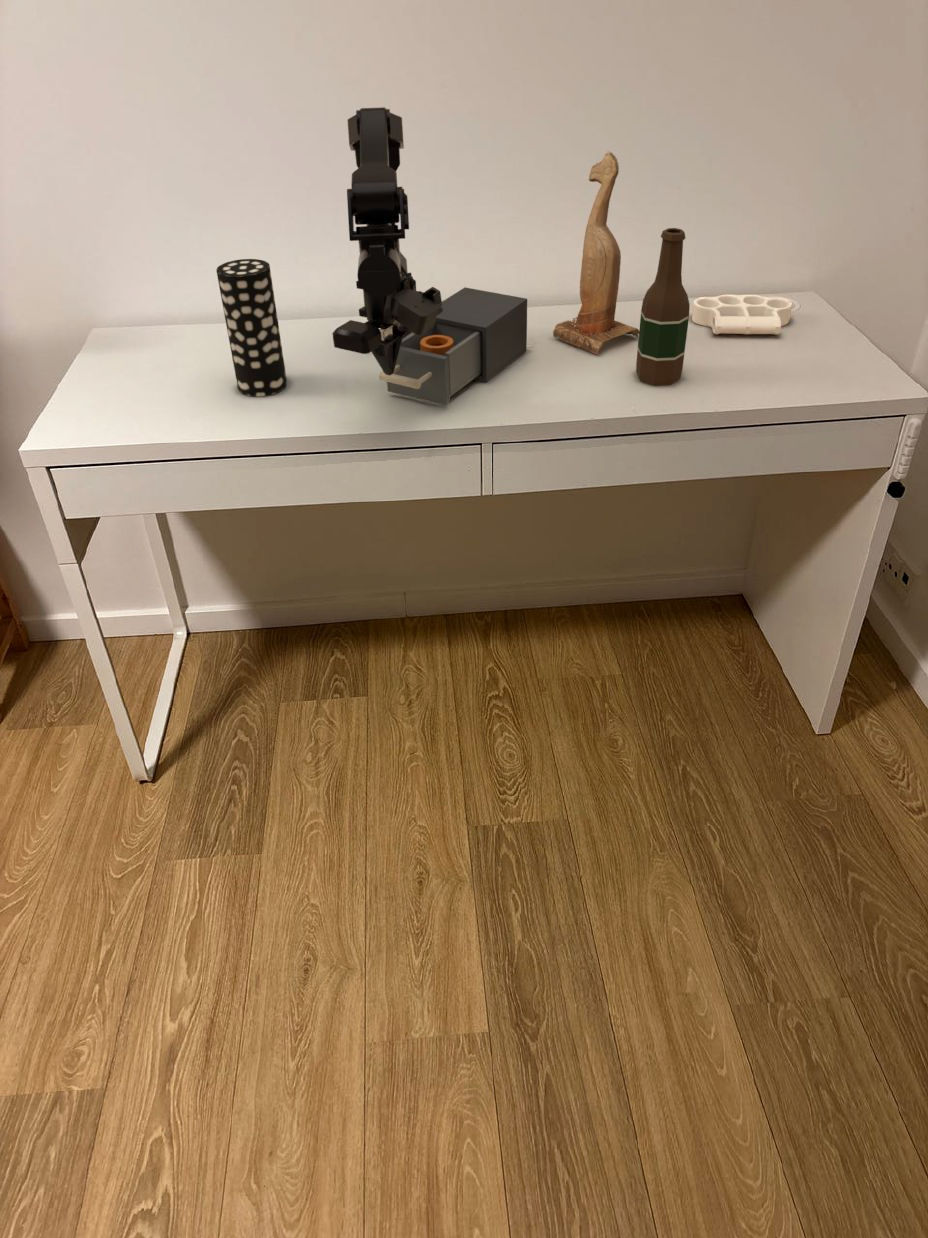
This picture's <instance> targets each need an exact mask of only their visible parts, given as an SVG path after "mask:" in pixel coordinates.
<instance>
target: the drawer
mask: <svg viewBox="0 0 928 1238" xmlns="http://www.w3.org/2000/svg"><path fill="white" fill-rule="evenodd" d="M431 335H444V336H449V337H451V338H452V339H453V341H454V347H453V348H452V349H450V350H449V351H447V352H446V353H445V356H443V355H438V354H433V353H429V352H424V351H421V350H420V342H421V339H423V338H425V337H428V336H431ZM482 372H483V360H482V331H478V330H473V329H468V328H463V327H458V326H453V325H448V324H443V323H438V322H435V324H434V327H433V328H430V329H428V330H427V331H425V332H424V333H423V334H421V335H417V334H414V333H411V334H409V335H408V336H406V337H404V338H403V339H402V342H401V345H400V349H399V353H398V357H397V361H396V365H395V369H394V373H393V374H392V375H390V376H389V375H386V374H385V373H384V372H383V371H381V372H380V373H379V380H381V381H383V382H386V389H387V392H389V393H394V394H398V395H402V396H406V397H410V398H414V399H418V400H422V401H427V402H431V403H435V404H439V405H442V406H448V405H450V403H451V397H453V395H454V394H456V393H457V392H459V391H460V390H461V389H463V388H464V387H465V386H467V385H468V384H469V383H471V382H472V381H473V380H474V378H476V377H477V376H478V375H480V374H481V373H482Z"/></svg>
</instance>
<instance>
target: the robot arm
mask: <svg viewBox="0 0 928 1238" xmlns="http://www.w3.org/2000/svg"><path fill="white" fill-rule="evenodd" d="M347 133H348V146H349V149H350V151H354V155H355V163H356V167H357V169H356V170H354V171H353V172H352V173H351V184H350V186H351V188H346V200H347V201H346V202H347V217H348V219H347V220H348V235H349V236H348V237H349V241H350V242H357V241H358V250H359V251H358V252H359V255H358V264H357V265H358V266H357V280H356V281H355V285H356V289H357V290H362V293H363V294H362V295H363V305H364V306H362V307H360V308H359V309H358V315H359V317H361V318H366V321H365V322H362V321H358V320H352V319H349V320H348V321H346V322H345V323H343V324H341V325H339V326H338V327H336V329H335V330H333V332H332V341H333V347H334V348H336V349H340V350H345V351H349V352H353V353H357V354H362V355H366V354H367V355H368V354H370V353H371V354H372V355H373V357H374V358H375V360H376V362H377V364H378V365H379V367H380V368H381V370H382V372H384V373H385V374H386V375H389V376H390V375H392V374H393V373H394V369H395V365H396V361H397V357H398V353H399V349H400V345H401V342H402V339H403V338H404V337H406V336H408V335H409V334H411V333H414V334H417V335H421V334H423V333H424V332H425V331H427V330H428V329H430V328H433V327H434V324H435V321H436V317H437V315H439V314H440V313H442V311H443V309H442V308H441V305H442V301H443V300H442V295H441V290H440V289H437V288H436V287H434V286H431V287H430V288H428V289H426V290H425V291H421V290H417V280H416V279H414V277H413V276H412V272H408V261H407V258H406V257H405V256H404V254H402V252H401V249H400V240H403V239H406V230H410V220H409V203H408V202H409V201H408V194H407V193H406V192H405V188H403V186H398V176H397V175H398V174H397V171H398V169H399V167H400V165H401V151H400V149H401V150H402V149H405V145H404V126H403V117H402V116H400V115H397V114H395V113H393V112H391V108H386V107H383V106H382V107H361V108H359V109H357V110H356V111H355V115H353V116H350V117H349V118H348V119H347ZM399 222H400V228H399V224H398V223H399ZM354 224H355V225H357V226H356V227H355V225H354Z"/></svg>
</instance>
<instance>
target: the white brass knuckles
mask: <svg viewBox="0 0 928 1238" xmlns="http://www.w3.org/2000/svg"><path fill="white" fill-rule="evenodd" d="M792 307H793V303H792V301H790V300H789V299H787V298H784V297H779V296H778V297H777V296H776V297H769V296H762V295H759V294H751V293H750V294H749V293H748V294H732V293H728V294H721V295H718V296H701V297H697V298H695V299H694V301H693V303H692V311H691V321H692V322H693V323H695V324H697V325H699V326H704V327H709V328H711V329H712V333H713V334H714V335H719V334H725V335H726V334H727V335H728V334H729V335H730V334H734V335H735V334H736V335H744V336H745V335H746V336H747V335H773V336H777V335H780V334H781V332H782V331H781V330H782V327H783V326H786V325H788V324H789V323H790V319H791V314H792Z"/></svg>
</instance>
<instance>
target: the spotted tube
mask: <svg viewBox="0 0 928 1238" xmlns="http://www.w3.org/2000/svg"><path fill="white" fill-rule="evenodd" d="M215 272H216V276H217V282H218V287H219V292H220V298H221V304H222V309H223V315H224V321H225V325H226V331H227V335H228V336H227V337H228V342H229V347H230V352H231V358H232V363H233V369H234V374H235V380H236V385H237V390H238V392H239V393H240V394H242V395H244V396H249V397H267V396H272V395H275V394H278V393H280V392H282V391H283V390H285V389H286V388H287V386H288V380H287V372H286V366H285V359H284V352H283V347H282V339H281V333H280V332H281V331H280V326H279V319H278V313H277V307H276V299H275V293H274V292H275V291H274V285H273V279H272V273H271V265H270V263H269V262H268V261H266V260H262V259H258V258H241V259H234V260H230V261H227V262H224V263H222V264H220V265H218V266H217V268H216V271H215Z"/></svg>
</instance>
